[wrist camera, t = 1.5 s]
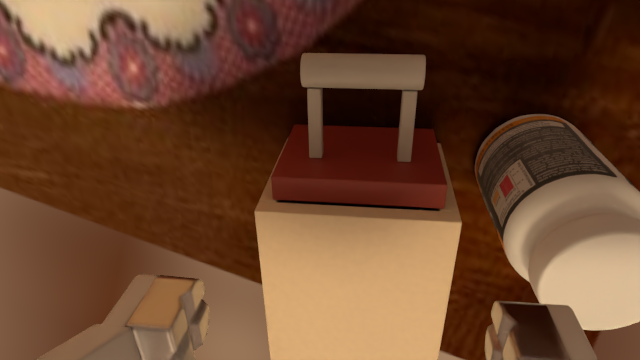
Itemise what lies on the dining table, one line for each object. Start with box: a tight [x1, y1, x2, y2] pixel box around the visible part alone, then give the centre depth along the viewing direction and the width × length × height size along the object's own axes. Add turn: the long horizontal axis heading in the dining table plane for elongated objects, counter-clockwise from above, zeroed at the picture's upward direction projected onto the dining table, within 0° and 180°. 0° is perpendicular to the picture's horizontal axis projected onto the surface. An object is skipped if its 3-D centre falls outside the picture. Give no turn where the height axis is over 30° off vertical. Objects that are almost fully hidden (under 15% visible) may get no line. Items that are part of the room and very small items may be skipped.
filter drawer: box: [271, 53, 448, 210], centre depth 22 cm, size 13×7×6 cm, turn 1°
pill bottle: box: [475, 114, 640, 330], centre depth 20 cm, size 6×6×10 cm
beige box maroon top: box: [255, 138, 462, 360], centre depth 24 cm, size 10×9×8 cm
